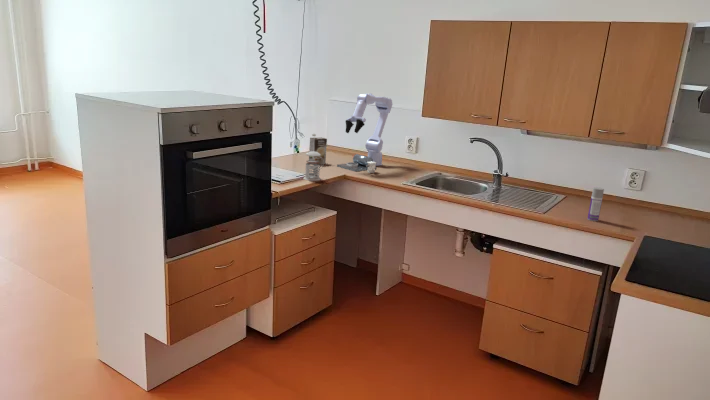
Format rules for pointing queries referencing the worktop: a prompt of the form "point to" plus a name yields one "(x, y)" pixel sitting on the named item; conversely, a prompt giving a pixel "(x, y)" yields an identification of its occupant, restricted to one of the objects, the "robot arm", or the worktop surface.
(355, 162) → the motor mount
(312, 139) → the coffee box
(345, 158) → the worktop surface
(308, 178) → the french press
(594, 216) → the container
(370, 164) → the white mushroom knob
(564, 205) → the worktop surface
